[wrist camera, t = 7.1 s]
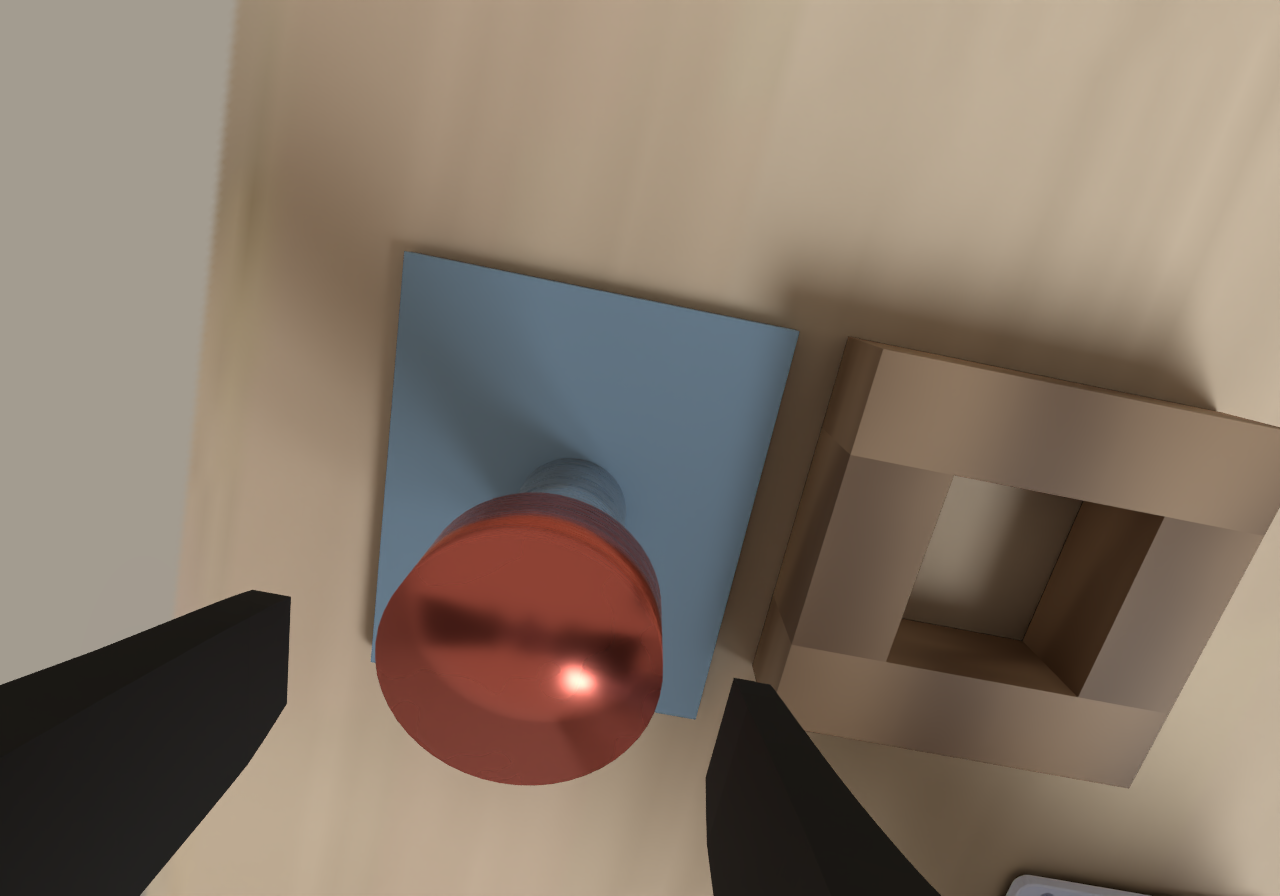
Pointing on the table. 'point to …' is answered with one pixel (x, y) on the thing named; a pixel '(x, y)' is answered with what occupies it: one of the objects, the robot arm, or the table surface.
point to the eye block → (1075, 594)
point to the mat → (583, 427)
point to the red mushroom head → (528, 633)
